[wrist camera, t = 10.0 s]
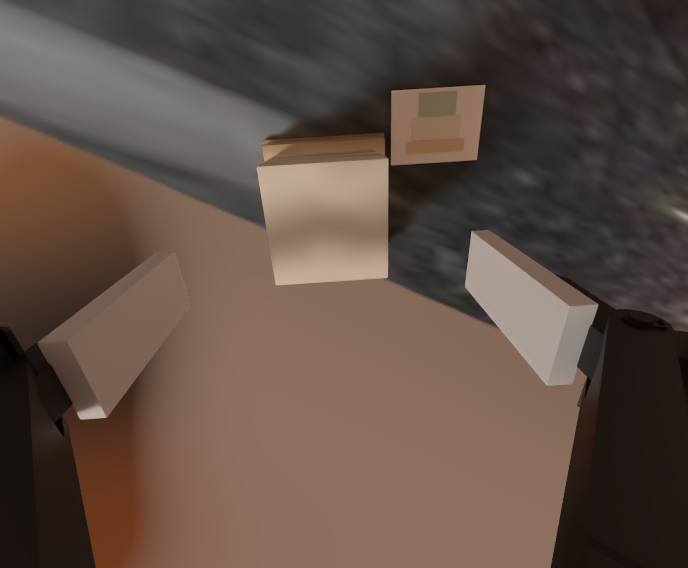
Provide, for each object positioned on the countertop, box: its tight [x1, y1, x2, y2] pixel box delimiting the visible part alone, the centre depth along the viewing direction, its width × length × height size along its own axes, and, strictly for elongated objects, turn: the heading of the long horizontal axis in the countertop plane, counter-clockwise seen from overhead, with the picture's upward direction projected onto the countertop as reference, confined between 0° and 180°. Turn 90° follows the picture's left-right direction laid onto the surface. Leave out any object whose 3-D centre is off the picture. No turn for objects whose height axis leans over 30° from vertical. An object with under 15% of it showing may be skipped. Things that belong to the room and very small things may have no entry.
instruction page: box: [391, 85, 485, 165], centre depth 29 cm, size 6×8×1 cm
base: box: [262, 133, 385, 161], centre depth 30 cm, size 11×11×3 cm
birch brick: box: [257, 149, 388, 285], centre depth 25 cm, size 8×8×8 cm
